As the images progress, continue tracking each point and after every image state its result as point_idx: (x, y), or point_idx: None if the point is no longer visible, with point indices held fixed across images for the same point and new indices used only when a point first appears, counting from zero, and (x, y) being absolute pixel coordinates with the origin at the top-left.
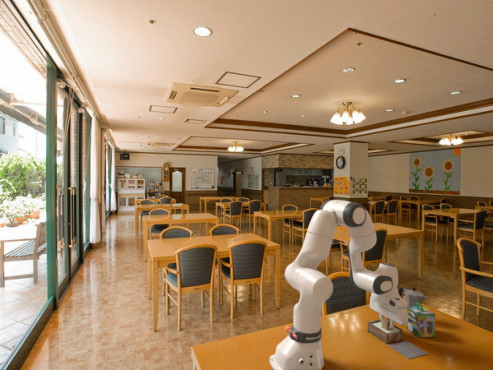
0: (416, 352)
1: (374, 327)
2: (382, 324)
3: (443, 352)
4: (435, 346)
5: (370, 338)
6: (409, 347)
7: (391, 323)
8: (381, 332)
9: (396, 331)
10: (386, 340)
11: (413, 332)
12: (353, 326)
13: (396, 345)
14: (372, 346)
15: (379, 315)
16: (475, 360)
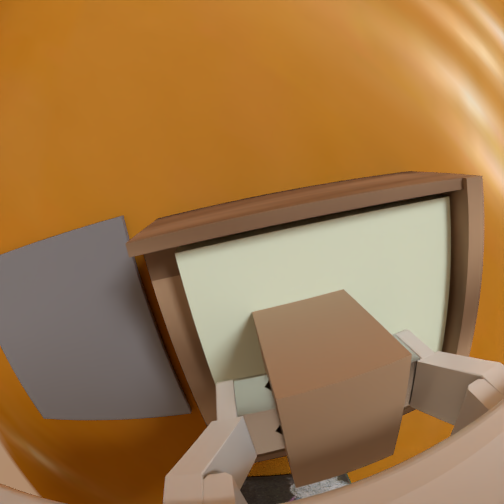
0: (35, 369)
1: (373, 188)
2: (352, 317)
3: (84, 476)
4: (137, 486)
5: (285, 108)
6: (89, 373)
7: (198, 447)
8: (234, 213)
9: None
10: (152, 224)
11: (279, 482)
12: (475, 113)
13: (110, 293)
14: (138, 50)
15: (493, 362)
16: (59, 501)
